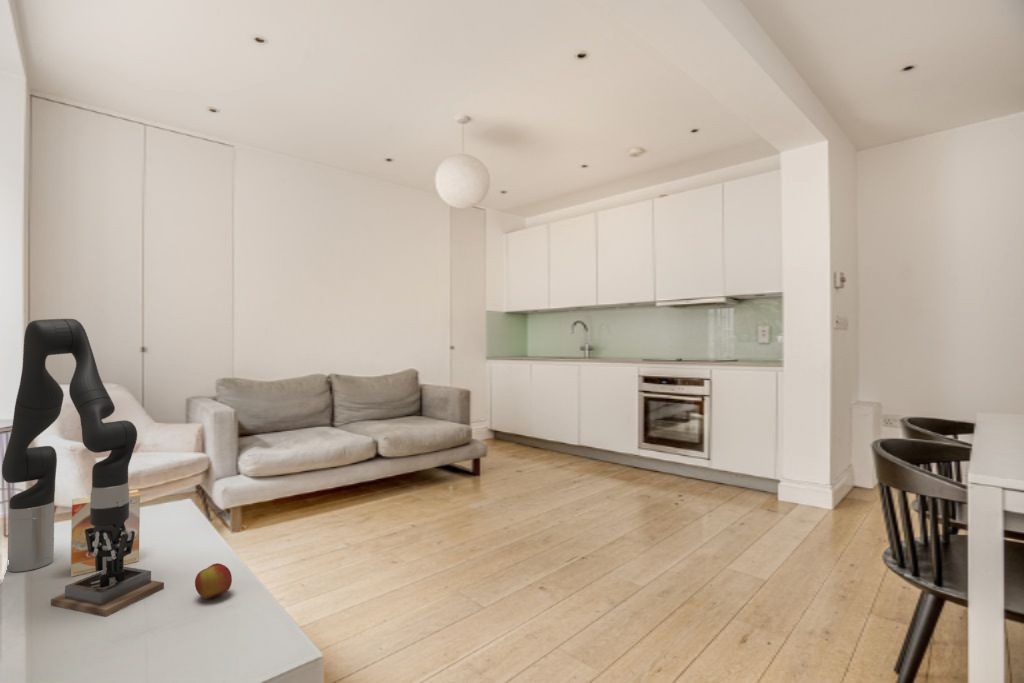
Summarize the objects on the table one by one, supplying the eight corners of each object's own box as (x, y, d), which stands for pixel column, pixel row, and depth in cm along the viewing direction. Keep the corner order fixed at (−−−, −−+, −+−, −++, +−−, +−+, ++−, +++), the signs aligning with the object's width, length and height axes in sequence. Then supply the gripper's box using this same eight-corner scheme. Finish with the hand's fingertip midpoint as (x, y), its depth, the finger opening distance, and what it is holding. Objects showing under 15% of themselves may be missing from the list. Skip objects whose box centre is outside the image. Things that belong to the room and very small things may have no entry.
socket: (64, 598, 119) (65, 586, 119) (116, 576, 131) (116, 565, 131) (101, 605, 116) (101, 592, 116) (150, 582, 128) (151, 570, 128)
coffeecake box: (70, 577, 134) (71, 504, 134) (70, 568, 139) (71, 498, 140) (139, 561, 144) (140, 493, 144) (137, 554, 149) (138, 488, 149)
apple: (225, 586, 129) (226, 555, 129) (235, 597, 123) (235, 564, 123) (191, 596, 123) (191, 564, 124) (199, 608, 118) (200, 574, 118)
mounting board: (50, 605, 119) (50, 599, 119) (112, 579, 133) (112, 573, 133) (105, 616, 114) (106, 610, 114) (163, 588, 128) (163, 582, 128)
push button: (91, 593, 119) (91, 550, 120) (90, 585, 123) (90, 545, 124) (126, 583, 124) (126, 543, 124) (124, 577, 128) (124, 537, 128)
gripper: (72, 504, 122) (71, 574, 122) (115, 509, 118) (114, 582, 118) (105, 495, 129) (104, 561, 129) (146, 500, 125) (145, 568, 125)
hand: (109, 571), depth 124 cm, fingers closed on push button, 4 cm apart
